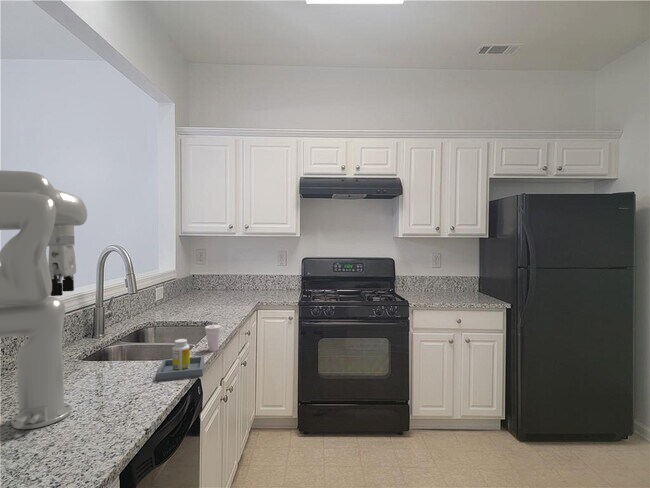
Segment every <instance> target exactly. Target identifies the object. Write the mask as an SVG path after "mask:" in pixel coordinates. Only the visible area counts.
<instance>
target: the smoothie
mask: <svg viewBox="0 0 650 488" xmlns="http://www.w3.org/2000/svg"><path fill="white" fill-rule="evenodd" d="M221 329H222V325H220V324H215V316H214V315H212V324H209V325H206V326H204V331H205V333H206V341H207V349H208V352H217V351H219V347H220V346H219V344H220V335H221Z"/></svg>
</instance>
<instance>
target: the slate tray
mask: <svg viewBox="0 0 650 488" xmlns="http://www.w3.org/2000/svg"><path fill="white" fill-rule="evenodd" d="M204 367H205V355H204V356H202V355H200V356H190V368H189V369H188V370H178V371H173V358H168V359H163V360H162V361H161V364H160V366H159V368H158V371H157V373H156V382H164V381H172V380H181V379H191V378H200V377H203V376H204Z"/></svg>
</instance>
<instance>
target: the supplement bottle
mask: <svg viewBox="0 0 650 488" xmlns="http://www.w3.org/2000/svg"><path fill="white" fill-rule="evenodd" d="M171 353H172V359H173V371H178V370H188V369H189V368H190V357H191V352H190V345H189V344H188V339H186V338H179V339H175V340H174V346H172V351H171Z"/></svg>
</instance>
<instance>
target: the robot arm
mask: <svg viewBox="0 0 650 488" xmlns="http://www.w3.org/2000/svg"><path fill="white" fill-rule="evenodd" d="M87 219H88V209H87V207H86V205H85V203H84V201H83V199H81V198H80V197H79V196H78V195H75V194H71V193H69V192H65V191H62V190H59V189H55V187H54V186H53V185H52V184H51V182H50V180H48V179H47V177H45V176H44V175H42V174H40V173H37V172H34V171H22V170H18V171H17V170H0V231H9V230H11V231H13V230H14V231H15V230H17V231H18V230H19V232H17V233H16V234H15V235H14V236H13V237H11V238H10V239H8V241H7V242H6V243H5V244H4V245H3V247H2V248H1V249H0V339H1V338H11V337H12V338H13V337H25V336H26V337H28V339H27V340H26V341H25V342H24V343H23V344H22V346H21V347H20V348H18V351H17V354H16V373H17V374H16V375H17V400H18V413H17V414H16V415H15V416H13V418H12V419H11V420H10V425H11V427H13V428H14V429H17V430H32V429H39V428H42V427H46V426H50V425H53V424H55V423H58V422H60V421H62V420H64V419H66V418H67V417H68V416H69V415H70V414H71V413H72V406H71V404H69V403H65V394H64V392H65V388H64V367H63V366H64V365H63V364H64V363H63V360H64V359H63V334H64V333H63V332H64V331H63V330H64V324H65V317H66V306H65V303H64V302H63V300H61V299H59V298H58V297H60V296H63V292H74V291H75V281H74V279H75V278H74V277H75V276H74V275H75V274H76V273H77V263H76V255H75V254H76V253H75V249H74V246H75V227H76V226H82V225H84V224H85V223H86V222H87ZM47 248H48V257H47Z"/></svg>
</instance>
